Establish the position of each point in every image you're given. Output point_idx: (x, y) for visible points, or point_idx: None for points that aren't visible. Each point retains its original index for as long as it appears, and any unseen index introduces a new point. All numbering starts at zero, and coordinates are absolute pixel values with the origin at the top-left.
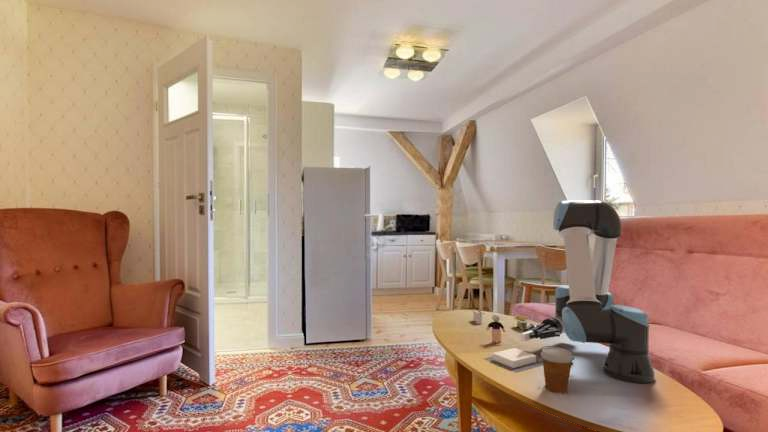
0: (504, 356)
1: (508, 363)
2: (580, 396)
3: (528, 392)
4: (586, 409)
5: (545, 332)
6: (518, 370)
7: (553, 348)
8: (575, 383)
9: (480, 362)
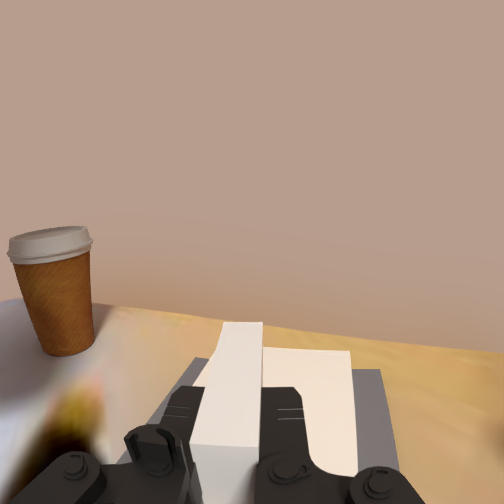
0: (282, 355)
1: None
2: (20, 337)
3: (132, 314)
4: (27, 312)
5: (18, 497)
6: (197, 370)
7: (49, 240)
8: (8, 383)
9: (363, 359)
